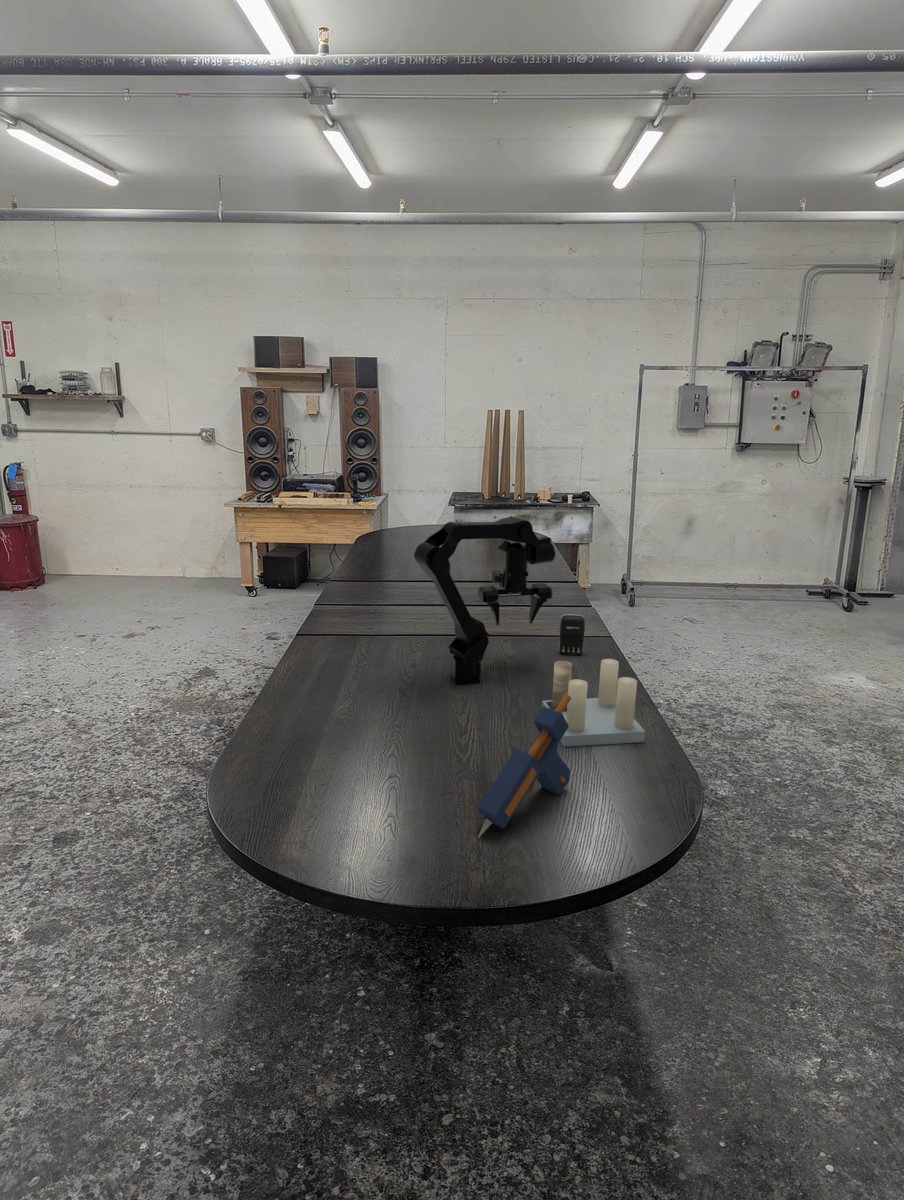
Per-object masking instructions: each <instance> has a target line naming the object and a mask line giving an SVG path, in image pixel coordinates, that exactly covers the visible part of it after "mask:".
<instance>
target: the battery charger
mask: <svg viewBox="0 0 904 1200" xmlns="http://www.w3.org/2000/svg"><path fill="white" fill-rule="evenodd" d="M585 619H586V618H585V616H584V615H582V614H574V613H573V614H571V613H570V614H569V613H568V614H566V613H565V614H563V615H561V617H560V622H559V644H558V645H559V647H558V652H559V654H562V655H565V654H566V656H581V655H582V654H583V652H584V650H583V648H584V639H585V632H586V630H585V629H586V621H585Z"/></svg>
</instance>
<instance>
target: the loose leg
mask: <svg viewBox="0 0 904 1200" xmlns="http://www.w3.org/2000/svg"><path fill="white" fill-rule="evenodd" d="M553 664H554V665H553V680H552V681H553V682H552V697H551V698H552V699H551V700H552V710H555V709H556V708H557V706H558V705H559V703H560V702H561V700H562V698H563V697H564V695H565V694H567V695H568V686H569V681H570V680H572V673H573V672H572V671H573V663H571V662H570V661H567V660H557V661H554V663H553ZM563 712H567V706H566V708H565V709H564V711H563Z"/></svg>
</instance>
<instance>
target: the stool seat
mask: <svg viewBox="0 0 904 1200" xmlns="http://www.w3.org/2000/svg"><path fill="white" fill-rule="evenodd" d="M619 663H620V662H619V661H618V660H616V659H613V658H604V659H601V661H600V670H599V683H598V684H599V685H598V697H592V698H591V697H590V698H588V697H587V696H588V685H589V683H588V682H587V681H586V680H583V679H577V678H576V679H571V680H570V681H569V686H568V695H569V696H570V697H571V700H570V701H569V703H568V704H567V712H562V714H563V716H564V718H565V720H566V722H567V724H568V726H569V727H568V729H567V730H566V732H565V734H564V735H563V737H562V738H561V740H560V742H559V743H561V745H562V747H564V748H565V747H583V746H599V745H600V746H601V745H615V744H629V743H630V744H631V743H632V744H633V743H644V742H645V736H646V730H645V729H644V728H643V727H642V726H641V725H640V723H639V722H638V721H637V720H636V719H635V709H636V698H637V687H638V680H637V679H635V678H633V677H628V676H622V677H619V666H620V665H619ZM541 701H542V702H541V708H542V707H543V706H544V707H547V708H549V709H552V699H550V700H549V699H548V700H541Z"/></svg>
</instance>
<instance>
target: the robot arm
mask: <svg viewBox="0 0 904 1200" xmlns="http://www.w3.org/2000/svg"><path fill="white" fill-rule="evenodd" d="M481 539H482V540H486V539H487V540H488V539H489V540H490V539H501V540H504V541H503V542H502V544H500V545H499V546H498V547H497V549H498V550H499V551H503V552H505V555H504V556H505V557H504V568H503V573H502V571H501V570H492V572H491V583H493V584H498V587H501V588H500V589H497V588H495V586H494V585H485V586H479V588H478V589H477V597H478V598H479V599H480V600H481V601H482V603H485V604H487V606H489V608H490V609H491V612H492V616H493V619H494V621H495V624H496V626H499V624H500V602H499V601H498V600H499V598H502V597H504V598H505V597H506V598H507V597H519V596H529V597H530V607H529V614H528V615H529V617H528V621H529V624H532V623H533V621H534V620H535V618H536V616H537V615H538V613H539V610H540V609H541V608H542V606H543V605H544V604H545V603H547V602H548V599H549V600H550V599H553V589H552V588H551V587H550V586H549V585H548V584H546V583H544V582H543V583H541V582H540V583H539V582H538V583H532V584H531V586H530V587H528V586H527V585H528V584H527V583H528V577H529V571H528V564H530V565H539V564H548V563H552V562H553V561H554V560H555V558H556V551H555V548H554V547H555V546H554V545H553V543H552V542H551V541H552V538H551V537H549V536H542V537H538V536H537V535H536V534H535V532H534V529H533V525H532V523H531V521H529V520H527V519H522V518H520V517H516V516H508V517H502V518H500V519H499V520H495V521H473V522H472V521H471V522H469V521H468V522H465V521H463V522H455V521H448V522H446V523H445V524H444V525H442V527H441V528H440V529H439V530H438V531H436V532H434V533H433V534H431V535H430V536H428V537H427V539H425V541H423V542H422V543H420V544H419V545H417V547H416V549H414V550H415V551H414V554H413V557H414V560H415V562H416V564H418V566H419V567H420V568H421V569H422V570H423V572H425V574H426V575H427V576H428V577H429V578H430V579H431V580H432V582H433V584H434V586H435V587H436V590H437V591H438V593H439V595H440V597H441V600H442V602H443V603H444V606H445V607H446V609H447V611H448V613H449V615H450V617H451V619H452V621H453V622H454V635H455V637H454V639H453V640H452V641H451V643H449V645H448V647H447V649H448V650H449V651H448V652H449V653H450V654H452V673H450V677H451V678H452V680H453V682H454V683H455V684H456V685H466V684H467V685H468V684H480V683H481V679H480V678H481V677H482V675H481V674H482V673H481V672H482V670H481V669H482V668H481V667H482V663H481V662H482V661H483V658H484V655H485V653H486V649H487V647H488V646H489V643H490V640H489V637H488V636H490V633H488V632H487V630H486V627H485V624H484V622H483V621H481V620H478V619H477V618H475V617H473V616H471V614H470V611H469V610H468V608H467V606H466V604H465V602H464V600H463V598H462V596H461V593H460V591H459V590H458V588H457V585H456V583H455V582H454V581H455V580H453V577H452V576H451V563H450V560H449V559H450V558H451V557H452V556H453V555H454V554H455V552H456V550H457V547H458V545H459V543H460V542H461V541H462V540H481ZM510 541H511V542H510ZM524 543H525V544H524ZM502 588H504V589H502Z"/></svg>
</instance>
